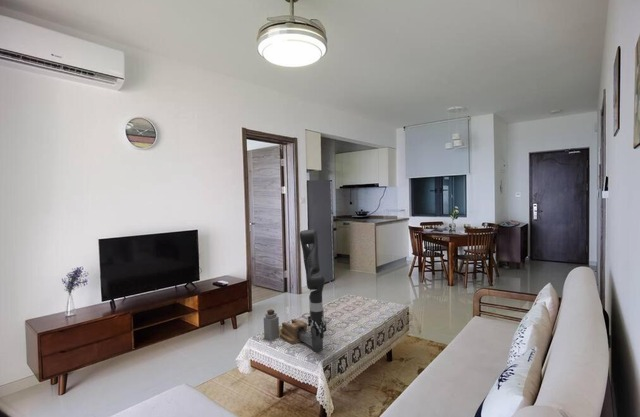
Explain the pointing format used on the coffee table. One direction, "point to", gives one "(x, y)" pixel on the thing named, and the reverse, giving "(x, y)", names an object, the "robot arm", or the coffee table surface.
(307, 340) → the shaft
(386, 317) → the coffee table surface
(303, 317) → the coffee table surface
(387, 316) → the coffee table surface
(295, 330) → the guide block
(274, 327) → the perfume bottle
